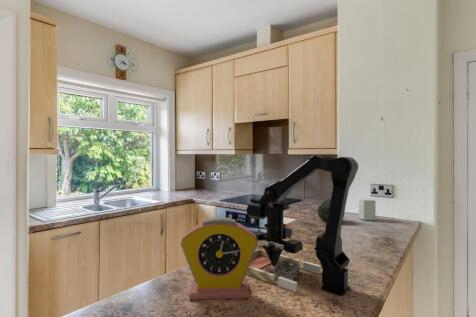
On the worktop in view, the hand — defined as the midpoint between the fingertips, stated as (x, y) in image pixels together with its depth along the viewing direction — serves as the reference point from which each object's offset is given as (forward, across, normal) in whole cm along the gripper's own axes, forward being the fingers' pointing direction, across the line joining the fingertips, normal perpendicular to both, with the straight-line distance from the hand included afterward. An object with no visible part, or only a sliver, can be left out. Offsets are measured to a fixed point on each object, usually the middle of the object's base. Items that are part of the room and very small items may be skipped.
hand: (274, 266), depth 96 cm
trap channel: (+2, +4, 0) cm, 4 cm away
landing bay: (+2, -10, 0) cm, 10 cm away
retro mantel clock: (+2, +4, +23) cm, 23 cm away
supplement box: (+2, -1, -102) cm, 102 cm away
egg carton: (+2, -5, 0) cm, 5 cm away
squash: (+2, +14, -83) cm, 84 cm away
